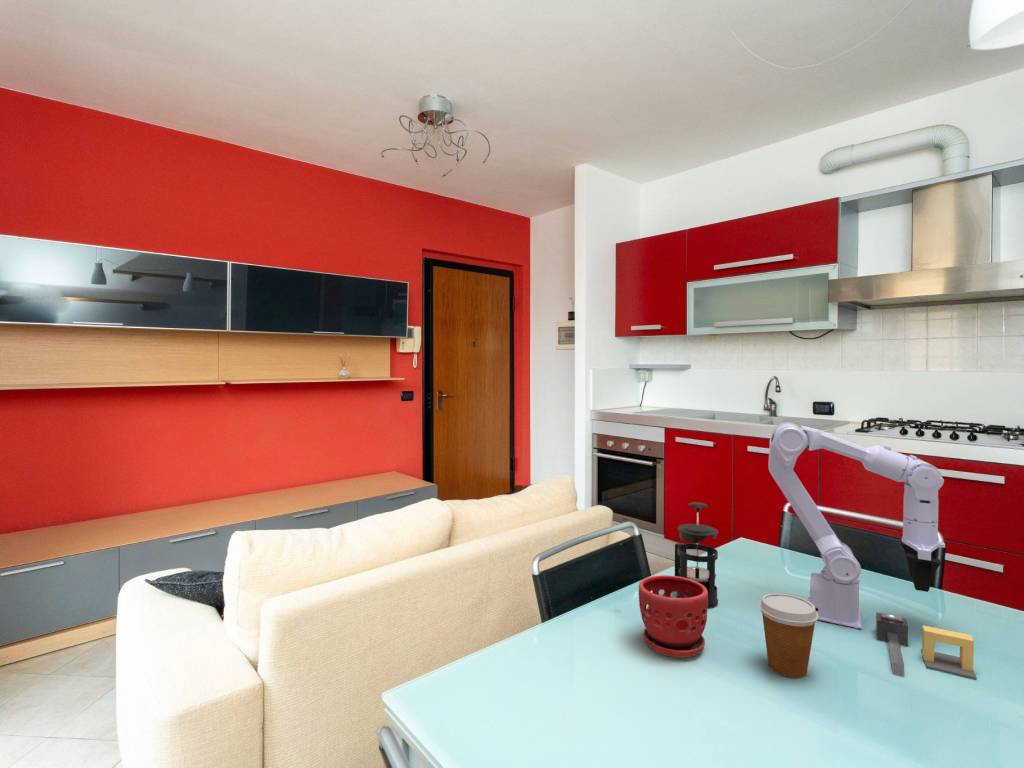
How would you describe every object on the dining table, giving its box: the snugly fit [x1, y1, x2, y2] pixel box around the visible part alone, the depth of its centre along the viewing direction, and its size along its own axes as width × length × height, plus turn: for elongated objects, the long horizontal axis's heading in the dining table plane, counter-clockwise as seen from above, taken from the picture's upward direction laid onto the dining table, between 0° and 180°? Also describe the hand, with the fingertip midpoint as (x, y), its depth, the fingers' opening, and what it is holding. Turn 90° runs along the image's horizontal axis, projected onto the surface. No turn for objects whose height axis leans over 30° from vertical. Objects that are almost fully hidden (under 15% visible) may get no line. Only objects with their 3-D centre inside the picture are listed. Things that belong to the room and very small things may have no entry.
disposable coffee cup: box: [758, 592, 818, 679], centre depth 96 cm, size 10×10×12 cm
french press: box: [674, 501, 719, 610], centre depth 124 cm, size 12×9×23 cm
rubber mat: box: [920, 648, 978, 681], centre depth 97 cm, size 7×7×1 cm
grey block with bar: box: [875, 612, 909, 677], centre depth 101 cm, size 5×17×5 cm, turn 148°
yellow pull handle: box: [921, 624, 975, 671], centre depth 97 cm, size 7×2×6 cm, turn 58°
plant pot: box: [638, 574, 709, 658], centre depth 104 cm, size 13×13×12 cm
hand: (919, 583), depth 109 cm, fingers open, 7 cm apart
